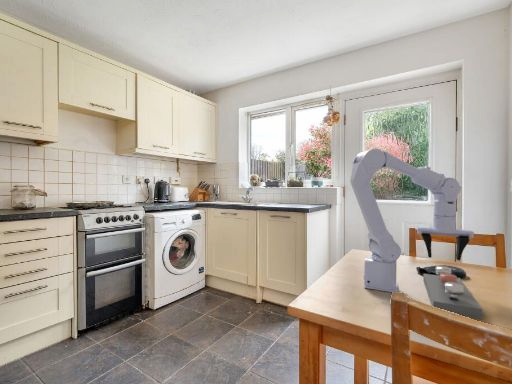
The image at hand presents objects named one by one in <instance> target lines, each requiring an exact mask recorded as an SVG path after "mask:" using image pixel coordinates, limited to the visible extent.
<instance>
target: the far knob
mask: <svg viewBox="0 0 512 384" xmlns="http://www.w3.org/2000/svg"><path fill="white" fill-rule="evenodd" d="M435 266H436V273H435V275H440V274H441V273H447V274H451V268H449V267H445V266H439V265H435Z"/></svg>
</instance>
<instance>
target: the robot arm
mask: <svg viewBox="0 0 512 384" xmlns="http://www.w3.org/2000/svg"><path fill="white" fill-rule="evenodd" d="M380 169H389V170H392V171H395V172H397V173H399V174H402V175H405V176H406V177H409V178H410V180H411V183H413V184H415V185H417V186H419V187H422V188H424V189H426V190H428V191H429V192H431V194H432V195H433V223H432V224H433V226H432V227H417V228H416V232H417V233H416V234H418V235H421V237H422V239H423V241H424V244H425V247H426V251H427V257H428V258H432V239H433V238H432V236H446V237H447V236H448V237H455V240H456V242H455V244H456V251H455V259H456V260H457V261H461V258H462V254H463V253H464V250H465V249H466V247H467V245H468V244H469V242H470V239H474V238H475V237H474V234H475V233H474V231H473V230H467V229H466V230H465V229H456V223H457V222H456V215H457V214H456V213H457V212H456V211H457V210H456V209H457V204H456V203H457V200H458V196H459V194H460V193H461V191H462V186H461V185H460V183H459V181H458V180H457V179H456V178H455V177H446V176H445V174H444V173H442V172H441V173H440V172H439V173H438V172H436V171H434V170H432V167H430V166H428V165H427V166H419V167H416V166H414V165H412V164H410V163H408V162H406V161H404V160H402V159H400V158H398V157H396V156H394V155H392V154H391V153H389V152H388V151H383V150H382V149H380V148H371V149H369V150H366V151H362V152H359V153H358V154H357V155H356V156H355V158H354V159H353V161H352V170H351V175H350V179H349V180H350V185H351V187H352V190H353V193H354V195H355V198H356V200H357V203H358V206H359V209H360V212H361V214H362V217H363V218H364V219H363V220H364V221H365V224H366V227H367V231H368V234H367V238H368V241H369V242H368V249H369V251H370V252H371V257H365V258H364V270H363V271H364V272H363V273H364V274H363V281H364V284H363V288H365V289H371V290H376V291H383V292H387V293H388V292H389V293H394V292H398V293H399V289H398V282H397V262H398V261H397V260H398V259H400V257H401V254H402V249H401V247H400V245H399V243H397V242H396V241H395V239H394V237H393V235H392V234H391V233H390V232H389V230H388V229H387V226H386V224H385V220H384V219H383V216H382V213H381V210H380V208H379V204H378V201H377V200H376V197H375V194H374V192H373V188H372V186H371V182H370V181H371V180H372V178H373V176H374V175H375V174H376V173H377V172H378V171H380Z"/></svg>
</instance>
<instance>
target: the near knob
mask: <svg viewBox="0 0 512 384" xmlns="http://www.w3.org/2000/svg"><path fill="white" fill-rule="evenodd" d="M445 292H447V293H449V294H451V300H455V301H457V295H463V293H464V286H463V285H461V284H458V283H454V282H446V283H445Z"/></svg>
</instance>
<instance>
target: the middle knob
mask: <svg viewBox="0 0 512 384" xmlns="http://www.w3.org/2000/svg"><path fill="white" fill-rule="evenodd" d="M440 282H442V283H444V284H445V283H446V282H454V283H457V276H455V275H452V274H447V273H441V274H440Z"/></svg>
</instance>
